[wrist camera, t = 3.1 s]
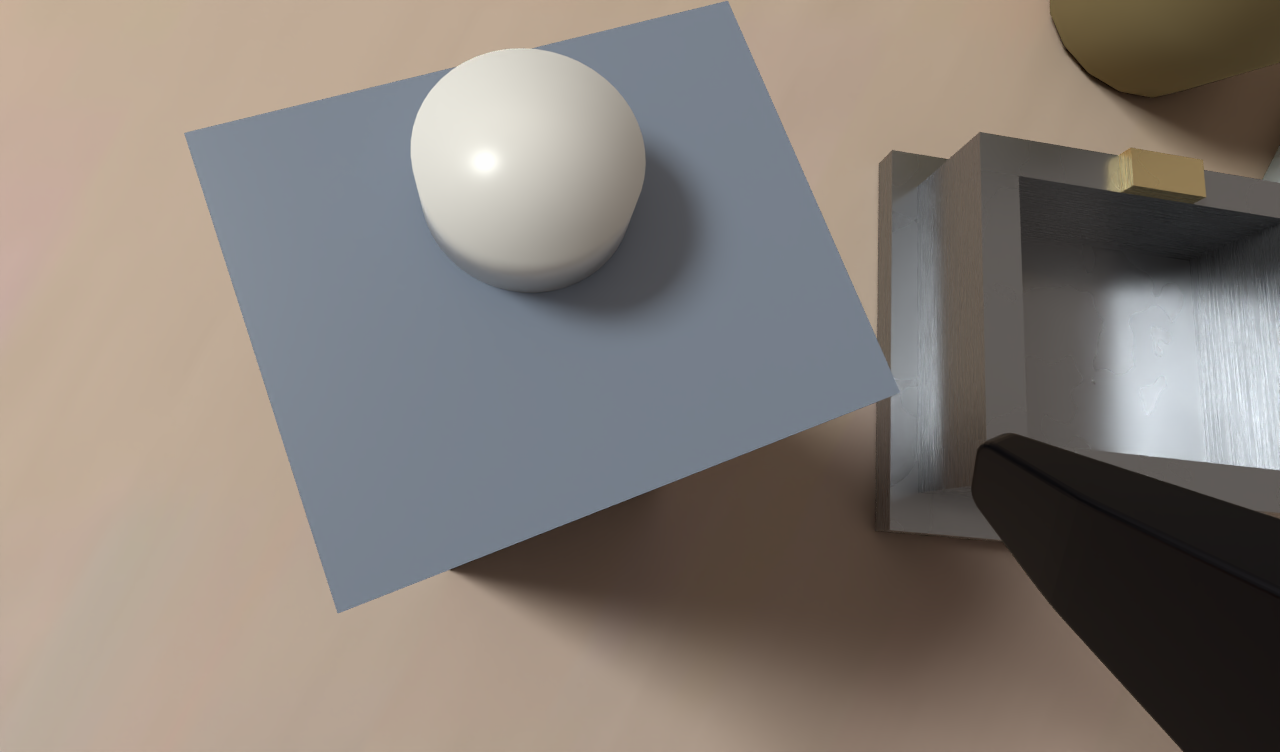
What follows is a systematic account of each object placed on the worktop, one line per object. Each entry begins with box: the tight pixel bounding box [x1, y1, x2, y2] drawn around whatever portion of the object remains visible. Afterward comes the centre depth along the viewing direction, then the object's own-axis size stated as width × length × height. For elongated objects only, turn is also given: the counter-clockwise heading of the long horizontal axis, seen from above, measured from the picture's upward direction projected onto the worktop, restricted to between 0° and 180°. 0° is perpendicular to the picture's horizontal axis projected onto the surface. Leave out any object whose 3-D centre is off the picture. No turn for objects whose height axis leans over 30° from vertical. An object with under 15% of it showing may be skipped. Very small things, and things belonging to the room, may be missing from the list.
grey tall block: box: [184, 1, 900, 613], centre depth 13 cm, size 4×6×13 cm
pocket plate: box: [875, 132, 1280, 542], centre depth 20 cm, size 10×11×4 cm
